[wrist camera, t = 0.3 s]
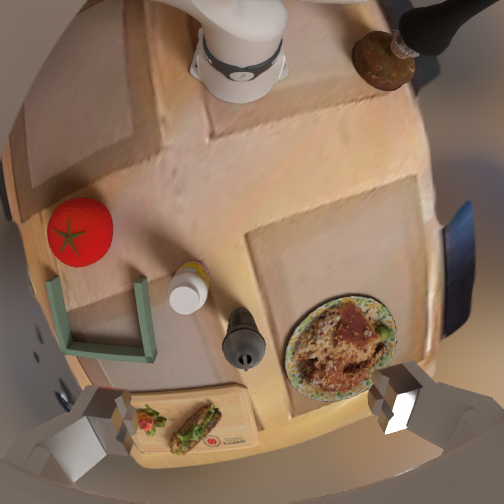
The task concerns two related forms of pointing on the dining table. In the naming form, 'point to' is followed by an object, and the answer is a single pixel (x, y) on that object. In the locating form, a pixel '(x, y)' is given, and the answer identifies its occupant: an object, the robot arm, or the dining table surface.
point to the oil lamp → (411, 42)
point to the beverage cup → (243, 341)
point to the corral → (102, 350)
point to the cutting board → (195, 420)
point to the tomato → (80, 232)
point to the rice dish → (340, 348)
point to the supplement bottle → (189, 287)
